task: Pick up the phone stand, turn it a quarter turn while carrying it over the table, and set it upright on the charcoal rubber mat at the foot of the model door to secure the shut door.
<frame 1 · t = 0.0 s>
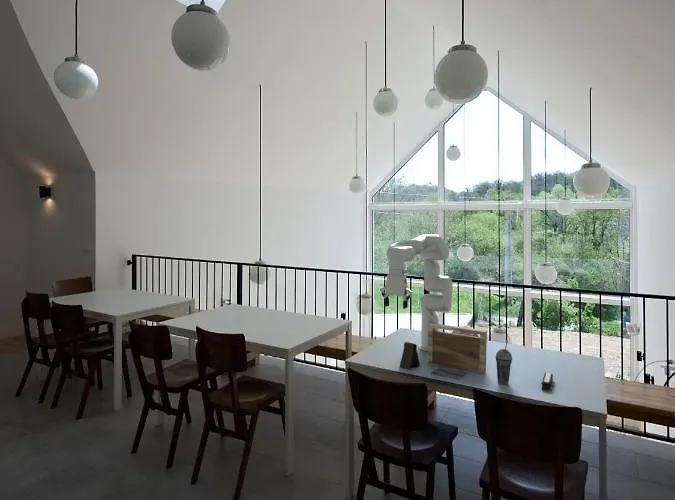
hand: (395, 307, 223), 31 cm above the table, tool pointing down, fingers open, 9 cm apart
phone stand: (409, 366, 231), on the table
model door: (455, 367, 229), on the table
decorative jar: (463, 362, 239), on the table
beverage cup: (503, 383, 208), on the table
bus: (550, 385, 207), on the table
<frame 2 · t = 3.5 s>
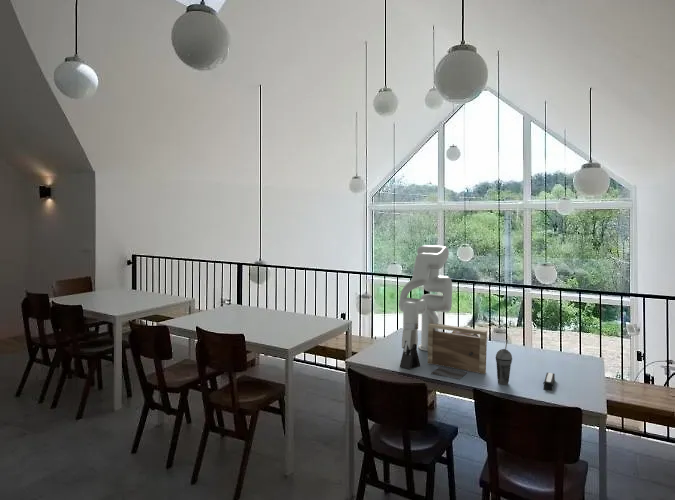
hand: (410, 361, 230), 3 cm above the table, tool pointing down, fingers closed on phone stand, 2 cm apart
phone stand: (410, 366, 231), on the table, touching gripper
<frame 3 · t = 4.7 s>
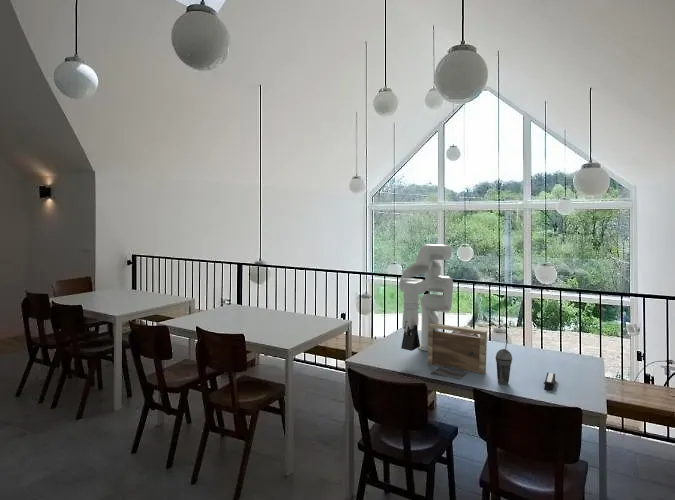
hand: (410, 341, 231), 13 cm above the table, tool pointing down, fingers closed on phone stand
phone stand: (410, 348, 231), point 9 cm above the table, touching gripper
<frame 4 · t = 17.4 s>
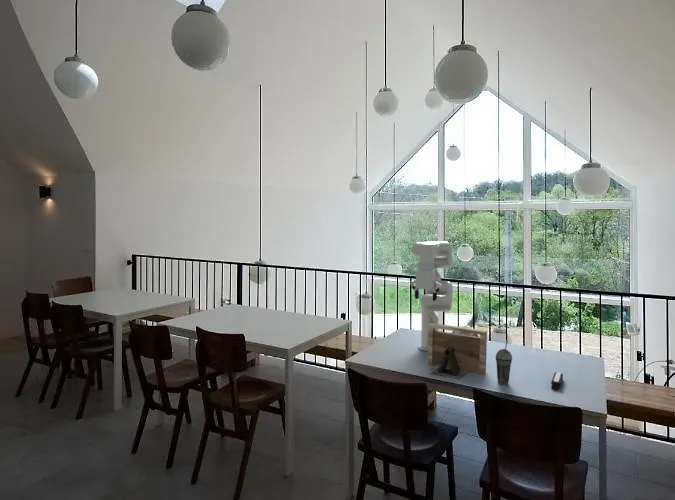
hand: (425, 299, 239), 32 cm above the table, tool pointing down, fingers open, 9 cm apart
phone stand: (449, 372, 221), resting on model door
bus: (559, 385, 208), on the table
everything else where it was.
at the end: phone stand inside the target area (0.1 cm from its centre), resting on model door; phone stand tilted 0°; the gripper is holding nothing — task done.
